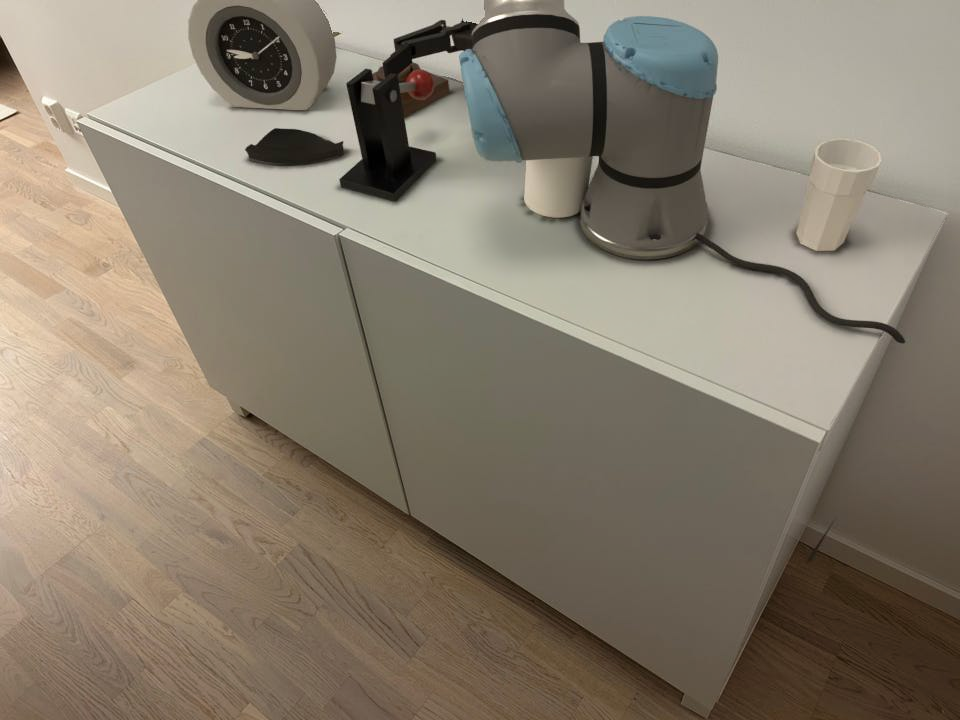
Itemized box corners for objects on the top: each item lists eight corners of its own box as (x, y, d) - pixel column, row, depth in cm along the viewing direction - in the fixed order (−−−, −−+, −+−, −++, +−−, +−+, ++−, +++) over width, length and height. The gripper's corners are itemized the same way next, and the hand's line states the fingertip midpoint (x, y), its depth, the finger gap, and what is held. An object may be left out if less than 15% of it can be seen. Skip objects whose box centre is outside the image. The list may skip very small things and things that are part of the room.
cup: (794, 216, 88) (819, 134, 80) (853, 227, 85) (884, 144, 77) (785, 248, 84) (810, 165, 76) (846, 260, 81) (878, 176, 73)
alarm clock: (210, 105, 118) (163, -23, 104) (230, 84, 123) (188, -42, 109) (329, 111, 114) (298, -22, 100) (346, 89, 119) (318, -41, 104)
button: (416, 71, 114) (414, 60, 113) (397, 81, 112) (396, 70, 111) (399, 65, 116) (397, 54, 115) (381, 74, 114) (379, 63, 113)
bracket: (384, 148, 106) (367, 55, 95) (436, 160, 102) (424, 65, 92) (340, 187, 99) (317, 92, 89) (395, 201, 96) (377, 104, 86)
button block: (449, 92, 116) (447, 68, 113) (404, 117, 111) (400, 93, 108) (400, 73, 122) (396, 49, 119) (355, 96, 117) (350, 72, 114)
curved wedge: (324, 174, 102) (321, 164, 101) (245, 160, 106) (242, 150, 105) (352, 144, 107) (350, 134, 106) (276, 132, 111) (273, 122, 110)
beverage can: (555, 229, 90) (564, 141, 81) (510, 201, 94) (515, 115, 85) (598, 205, 93) (611, 119, 85) (554, 180, 98) (562, 95, 89)
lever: (415, 95, 104) (416, 66, 102) (438, 100, 102) (440, 70, 101) (354, 106, 93) (355, 74, 91) (380, 112, 91) (381, 79, 89)
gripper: (565, 55, 112) (505, 118, 100) (428, 34, 121) (358, 90, 109) (566, 5, 107) (503, 66, 95) (423, -13, 116) (348, 41, 104)
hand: (425, 79), depth 102 cm, fingers open, 13 cm apart
